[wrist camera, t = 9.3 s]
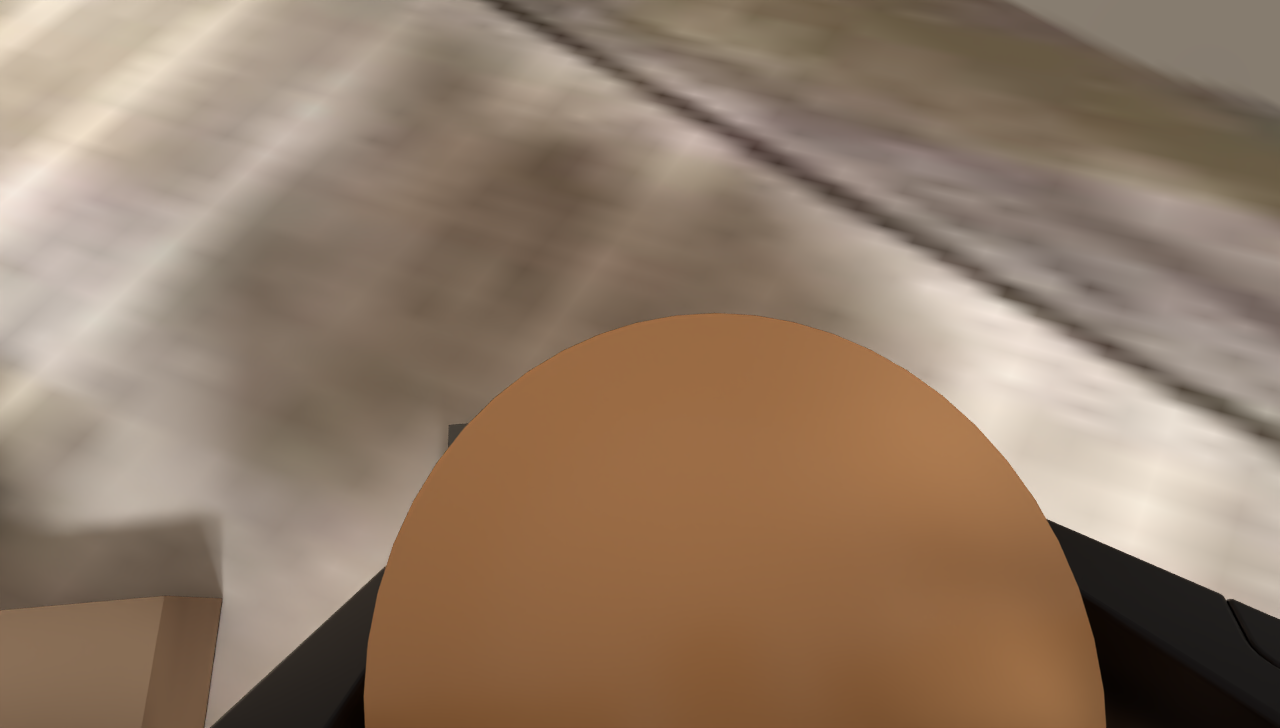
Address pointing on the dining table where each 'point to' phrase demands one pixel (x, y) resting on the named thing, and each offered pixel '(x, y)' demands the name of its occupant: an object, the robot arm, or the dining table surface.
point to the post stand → (108, 663)
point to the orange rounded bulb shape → (727, 551)
